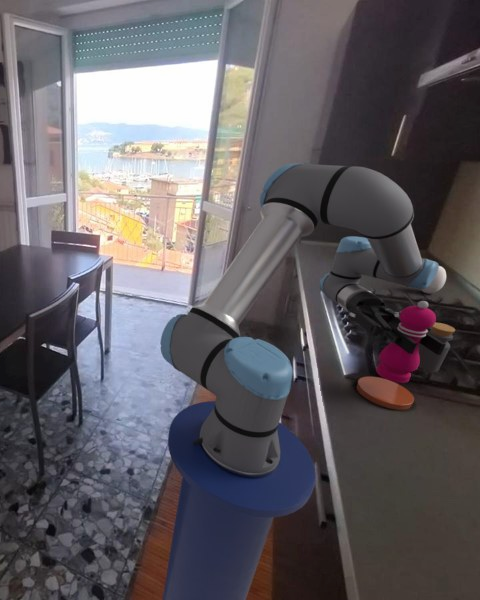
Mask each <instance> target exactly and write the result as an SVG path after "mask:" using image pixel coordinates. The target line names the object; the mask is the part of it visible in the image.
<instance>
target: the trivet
mask: <svg viewBox="0 0 480 600" xmlns="http://www.w3.org/2000/svg"><path fill="white" fill-rule="evenodd" d="M356 390H357V392H358V393H359V394H360V395H361V396H362V397H363V398H365V399H366V400H368V401H369V402H371V403H373V404H375V405H378V406H381V407H382V408H386V409H391V410H396V411H404V410H409V409H410V408H412V407H413V404H414V402H415V397H414V395H413V393H412V392H410V391H409V390H408V389H407V388H405V387H404V386H402V385H400V383H397V382H392V381H389V380H387V379H385V378H383V377H378V376H363V377H360V378H359V379H358V380H357V384H356Z"/></svg>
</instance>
